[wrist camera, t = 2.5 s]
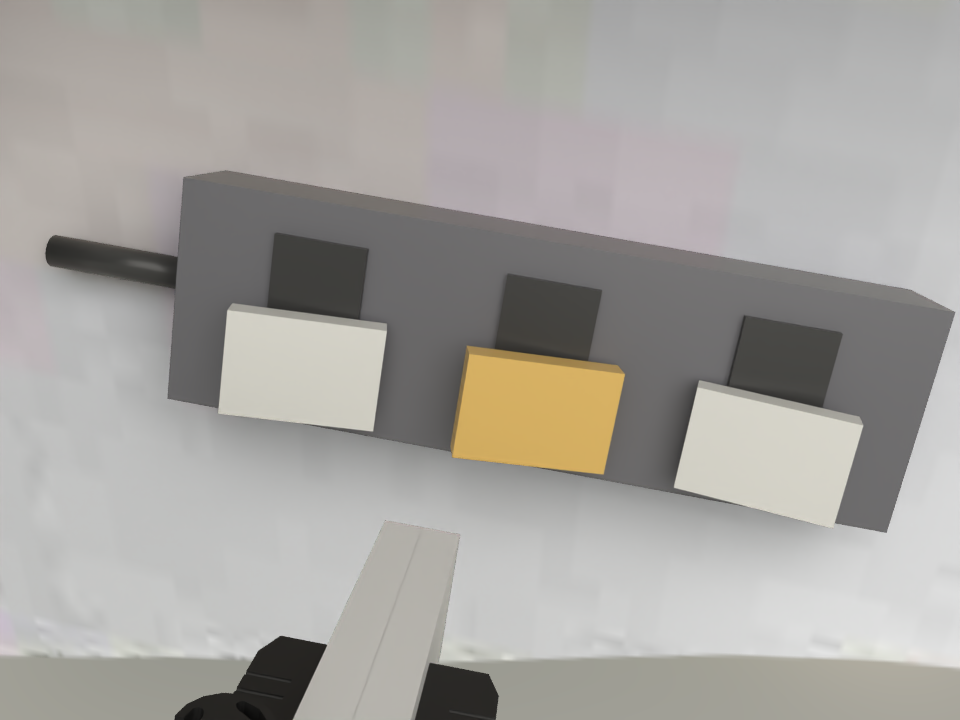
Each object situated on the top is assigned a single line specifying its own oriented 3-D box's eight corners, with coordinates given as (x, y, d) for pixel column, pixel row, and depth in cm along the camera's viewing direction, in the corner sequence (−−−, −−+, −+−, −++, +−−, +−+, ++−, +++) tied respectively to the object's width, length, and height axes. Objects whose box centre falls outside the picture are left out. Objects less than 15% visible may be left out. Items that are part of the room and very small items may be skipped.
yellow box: (450, 445, 31) (452, 457, 30) (466, 345, 30) (469, 354, 29) (596, 462, 32) (603, 474, 31) (617, 365, 31) (625, 374, 30)
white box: (223, 403, 31) (218, 413, 30) (232, 303, 30) (227, 310, 29) (373, 421, 32) (373, 431, 31) (387, 323, 31) (386, 331, 30)
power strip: (66, 342, 37) (4, 371, 33) (74, 144, 35) (8, 147, 31) (851, 487, 36) (889, 536, 31) (910, 289, 33) (959, 314, 29)
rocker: (676, 477, 32) (673, 487, 31) (699, 380, 31) (697, 387, 30) (830, 516, 30) (833, 528, 30) (859, 416, 29) (863, 425, 29)
